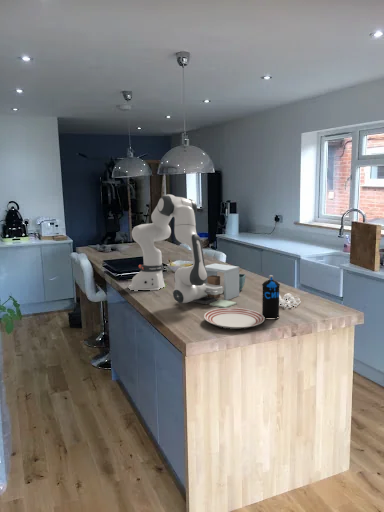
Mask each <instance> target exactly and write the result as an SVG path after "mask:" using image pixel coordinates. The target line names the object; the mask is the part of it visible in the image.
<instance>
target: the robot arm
mask: <svg viewBox="0 0 384 512" xmlns="http://www.w3.org/2000/svg"><path fill="white" fill-rule="evenodd" d="M197 205H198V204H197V203H196V201H195V200H193V199H190V198H186V197H182V196H175V195H173V194H168V193H167V194H165V195H162V196H161V197H160V198H159V200H158V202H157V205H156V206H155V208H154V209H153V211H152V213H151V217H150V218H151V222H152V223H141V224H139V225H136V226H134V227H133V228H132V230H131V236H132V239H133V241H134V242H136V243H137V244H138V245H139V246H140V249H141V251H142V258H143V264H139V265H138V268H139V269H140V271H139V272H137V274H135V275H133V277H132V279H131V284H129V285H128V286H127V289H128V288H129V289H130V290H129V289H128V290H129V291H131V290H134V291H133V292H139V291H138V290H150V291H160V290H161V289H164V288H165V287H166V283H165V282H164V281H165V280H164V275H163V272H164V266H163V262H162V257H163V256H162V255H163V254H162V251H161V249H160V248H158V247H156V246H155V242H160V241H164V240H166V239H169V238H170V236H171V234H172V229H171V227H170V225H169V224H170V222H171V220H172V218H174V230H173V231H174V232H173V233H174V236H175V239H176V241H178V242H179V243H181V244H182V245H187V246H188V247H189V248H190V251H191V258H192V266H183V267H178V268H176V270H175V272H174V274H173V280H174V289H173V291H172V297H173V298H174V300H175V302H177V303H179V304H186V303H189V302H193V300H196V299H200V298H203V297H204V296H207V295H206V294H211V295H217V294H220V295H221V294H224V285H221V284H220V285H219V284H218V285H213V284H208V283H205V281H206V279H207V271H206V268H205V266H206V265H205V258H204V251H203V250H204V249H203V244H202V243H203V242H202V240H201V237H200V235H198V233H197V229H196V225H197V224H196V214H197V210H198V206H197ZM163 287H164V288H163ZM160 288H161V289H160ZM159 289H160V290H159Z"/></svg>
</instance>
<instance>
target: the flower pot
mask: <svg viewBox="0 0 384 512" xmlns="http://www.w3.org/2000/svg"><path fill="white" fill-rule="evenodd" d="M246 275H247V274H245V273H239V292H241V290H242V289H244V286H245V282H246Z"/></svg>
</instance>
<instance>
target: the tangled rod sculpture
mask: <svg viewBox="0 0 384 512" xmlns="http://www.w3.org/2000/svg"><path fill="white" fill-rule="evenodd" d="M286 299H287V300H286ZM287 301H288V302H287ZM291 302H293V303H291ZM301 302H302V301H301V299H300V297H298V296H296V295H295V296H294V295H293V294H292V293H285V294H284V295H283V298H282V295H281V294H280V293H279V307H282V308H283V307H284V308H285V309H286V308H287V309H289V307H293V306H296V307H297V306H298V307H299V304H300V303H301ZM280 304H281V305H280ZM284 304H285V305H284ZM294 304H296V305H294ZM287 305H288V306H287ZM291 305H292V306H291Z"/></svg>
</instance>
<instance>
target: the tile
mask: <svg viewBox="0 0 384 512" xmlns="http://www.w3.org/2000/svg"><path fill="white" fill-rule="evenodd" d="M237 304H238V303H237V301H231V300H224V298H223V299H222V298H220V299H218V300H216V301H214V302H211V303H209V306H213V307H218V308H230V307H232V305H233V306H235V305H237ZM229 306H230V307H229Z"/></svg>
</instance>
